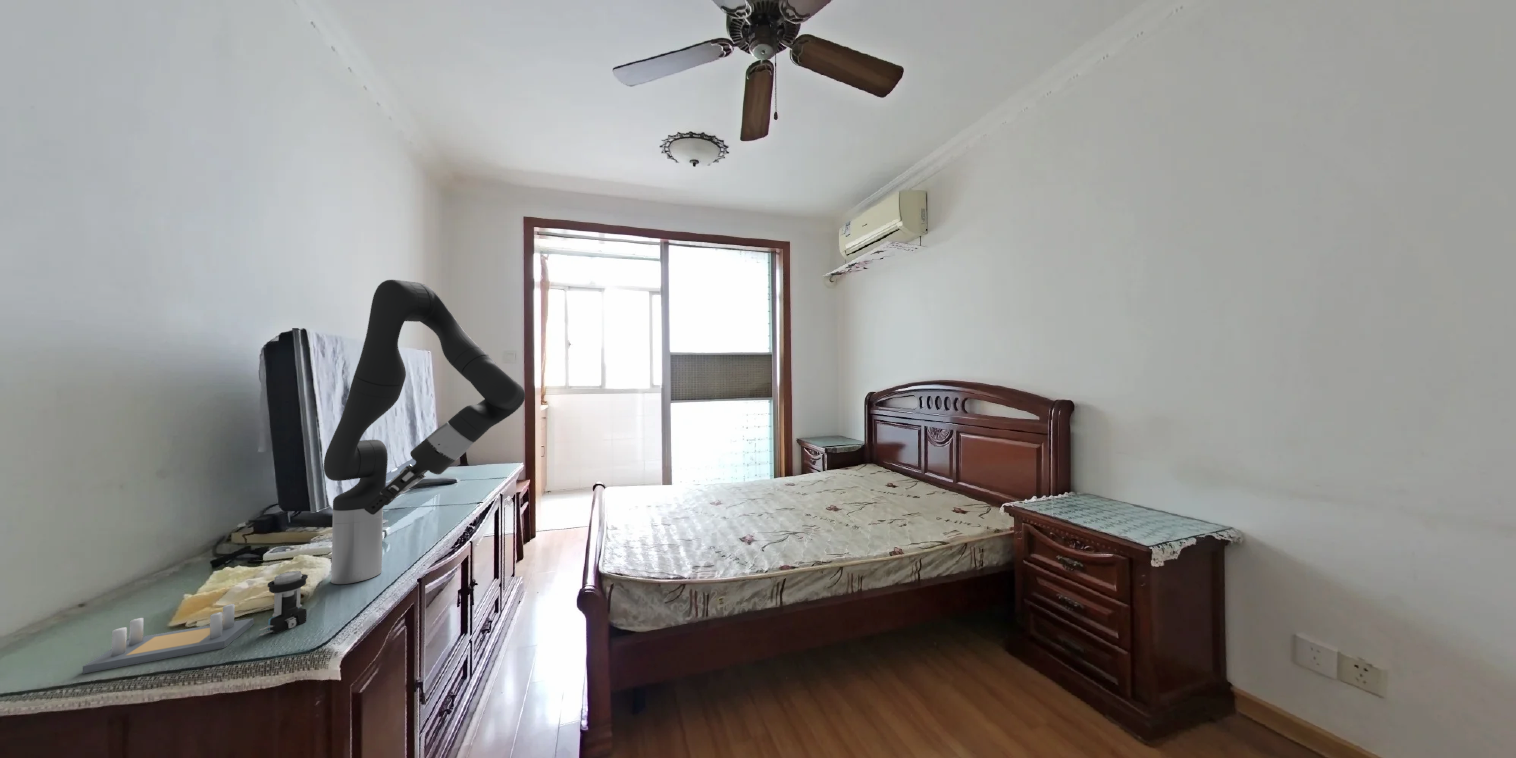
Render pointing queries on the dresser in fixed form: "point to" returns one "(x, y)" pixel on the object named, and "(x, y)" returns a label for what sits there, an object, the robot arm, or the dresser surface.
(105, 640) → the dresser surface
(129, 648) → the pin tray
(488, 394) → the robot arm
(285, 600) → the push button
